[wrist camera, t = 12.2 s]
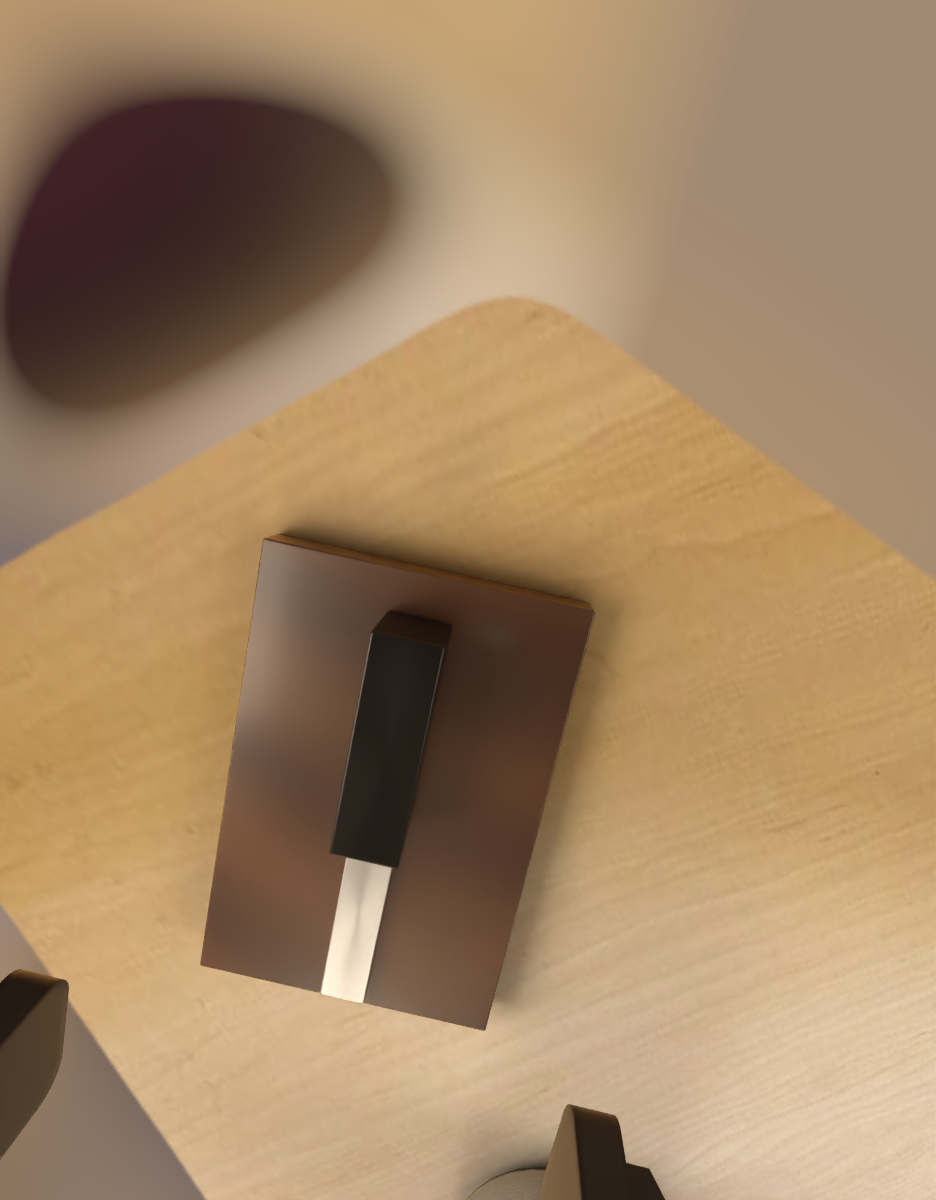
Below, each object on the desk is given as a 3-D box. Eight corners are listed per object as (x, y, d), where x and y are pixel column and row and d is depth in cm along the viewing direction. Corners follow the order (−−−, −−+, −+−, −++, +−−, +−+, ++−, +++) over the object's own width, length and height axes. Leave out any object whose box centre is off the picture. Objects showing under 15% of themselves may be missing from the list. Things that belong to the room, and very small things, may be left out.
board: (277, 533, 24) (262, 537, 23) (590, 602, 24) (596, 611, 23) (215, 939, 28) (199, 965, 27) (486, 1002, 28) (485, 1031, 27)
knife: (387, 609, 23) (370, 630, 20) (453, 624, 23) (445, 647, 20) (315, 983, 27) (292, 1047, 24) (373, 996, 26) (356, 1062, 24)
